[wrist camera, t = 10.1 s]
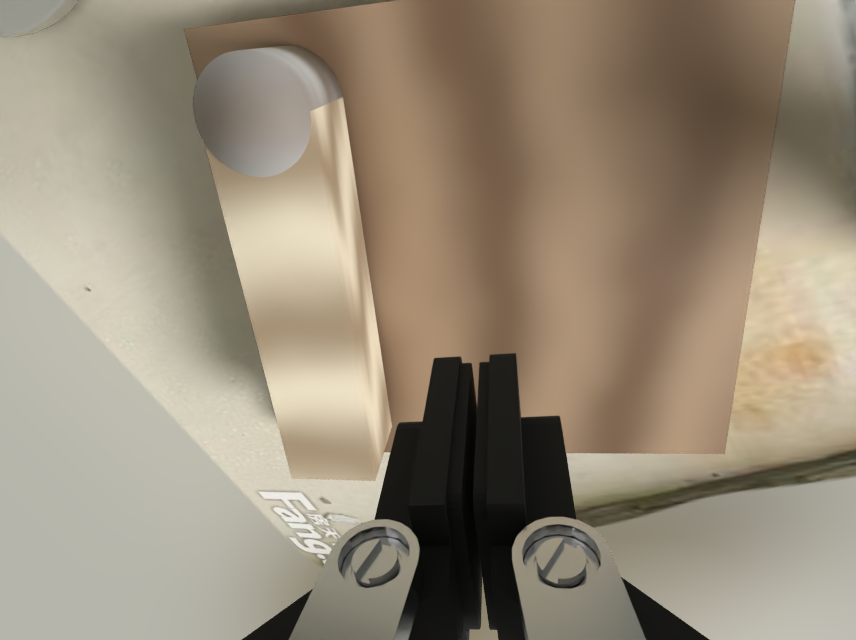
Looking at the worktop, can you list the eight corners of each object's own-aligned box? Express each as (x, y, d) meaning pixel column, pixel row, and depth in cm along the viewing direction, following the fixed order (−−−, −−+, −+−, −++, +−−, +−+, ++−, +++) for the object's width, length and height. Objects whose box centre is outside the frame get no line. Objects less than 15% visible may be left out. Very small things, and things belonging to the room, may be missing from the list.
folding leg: (235, 50, 22) (178, 56, 18) (334, 40, 21) (296, 44, 18) (318, 425, 30) (290, 481, 26) (392, 426, 30) (374, 484, 26)
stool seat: (312, 423, 34) (298, 451, 32) (213, 28, 24) (183, 29, 22) (709, 422, 30) (724, 453, 28) (773, -48, 21) (803, -56, 18)
